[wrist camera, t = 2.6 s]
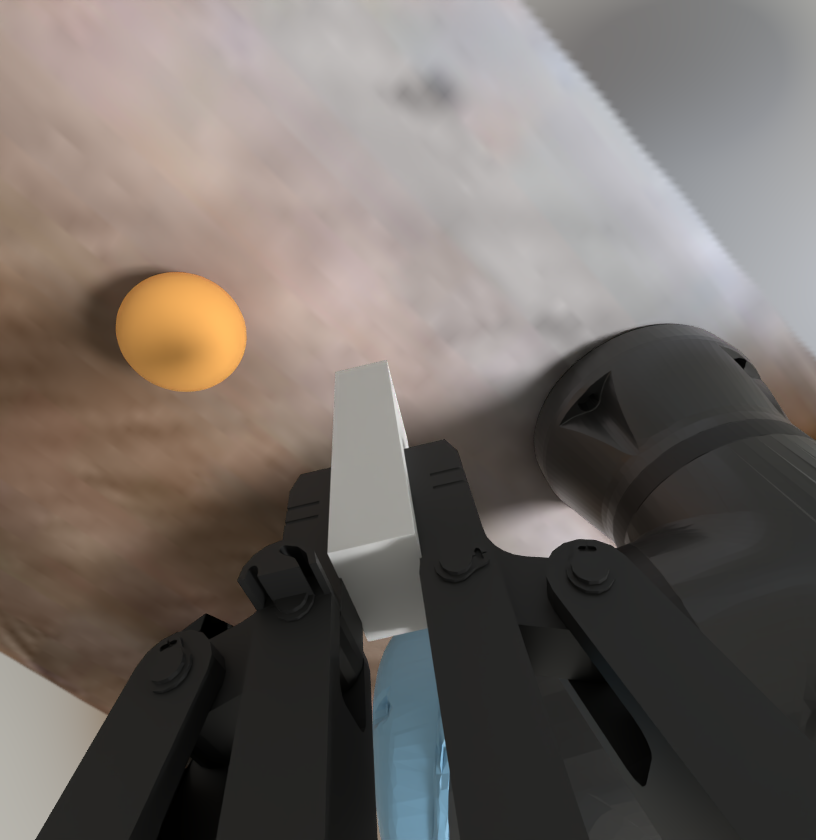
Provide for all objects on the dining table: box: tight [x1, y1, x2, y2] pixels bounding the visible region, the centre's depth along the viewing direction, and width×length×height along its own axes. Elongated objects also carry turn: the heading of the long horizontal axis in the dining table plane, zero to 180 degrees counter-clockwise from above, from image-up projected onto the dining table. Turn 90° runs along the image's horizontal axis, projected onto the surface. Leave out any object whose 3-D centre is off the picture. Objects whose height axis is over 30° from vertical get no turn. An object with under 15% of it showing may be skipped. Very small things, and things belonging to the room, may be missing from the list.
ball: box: [116, 272, 246, 392], centre depth 24 cm, size 6×6×6 cm
